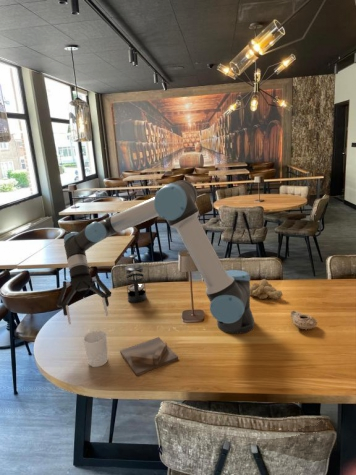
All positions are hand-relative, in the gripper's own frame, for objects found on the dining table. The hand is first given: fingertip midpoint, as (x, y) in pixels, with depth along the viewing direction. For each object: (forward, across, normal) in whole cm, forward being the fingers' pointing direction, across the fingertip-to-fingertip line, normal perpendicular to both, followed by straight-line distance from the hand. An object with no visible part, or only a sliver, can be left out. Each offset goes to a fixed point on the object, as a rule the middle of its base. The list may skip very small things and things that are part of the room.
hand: (88, 319), depth 127 cm
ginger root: (+4, -83, -15) cm, 84 cm away
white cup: (+15, -1, -3) cm, 16 cm away
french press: (-15, -27, -34) cm, 46 cm away
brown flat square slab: (+19, -18, +1) cm, 26 cm away
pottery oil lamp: (+25, -80, +7) cm, 84 cm away
